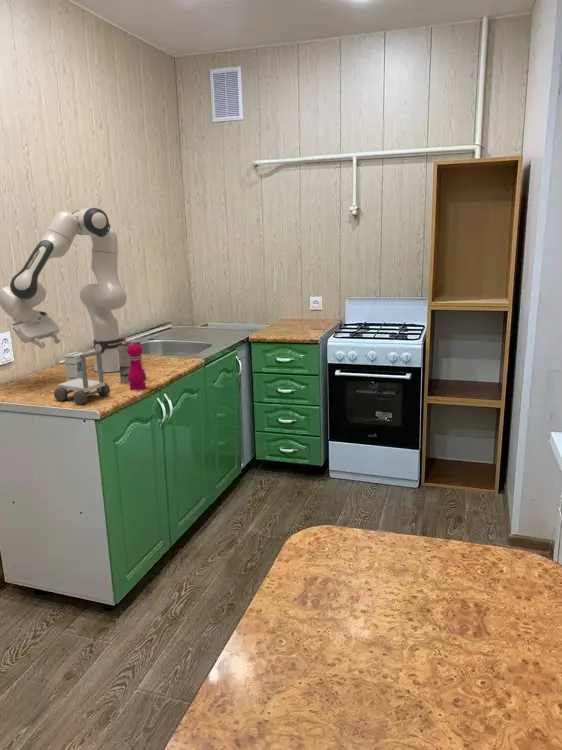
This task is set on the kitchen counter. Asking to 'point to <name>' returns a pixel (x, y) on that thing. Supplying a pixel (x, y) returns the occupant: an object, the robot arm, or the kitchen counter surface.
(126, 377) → the coffee box
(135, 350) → the pepper mill
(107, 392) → the hand trolley
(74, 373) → the syrup box
